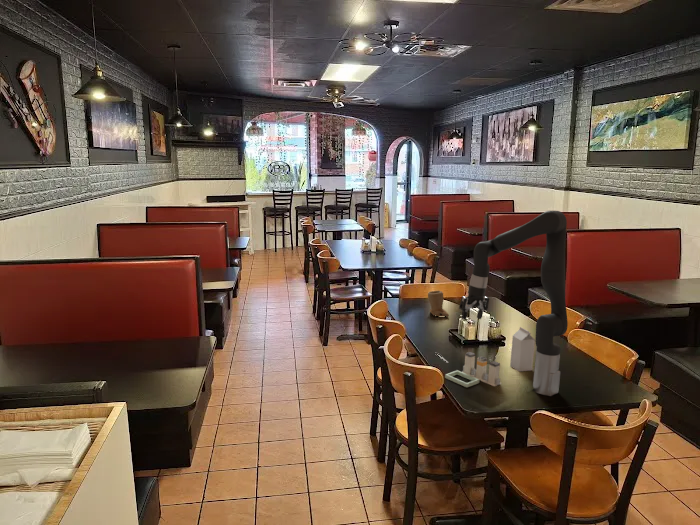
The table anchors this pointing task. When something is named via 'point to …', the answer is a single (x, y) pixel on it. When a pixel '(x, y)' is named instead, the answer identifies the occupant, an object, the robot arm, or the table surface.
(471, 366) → the block
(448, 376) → the tray
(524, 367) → the milk carton
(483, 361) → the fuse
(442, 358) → the butter knife
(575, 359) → the table surface
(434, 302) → the brown boot
